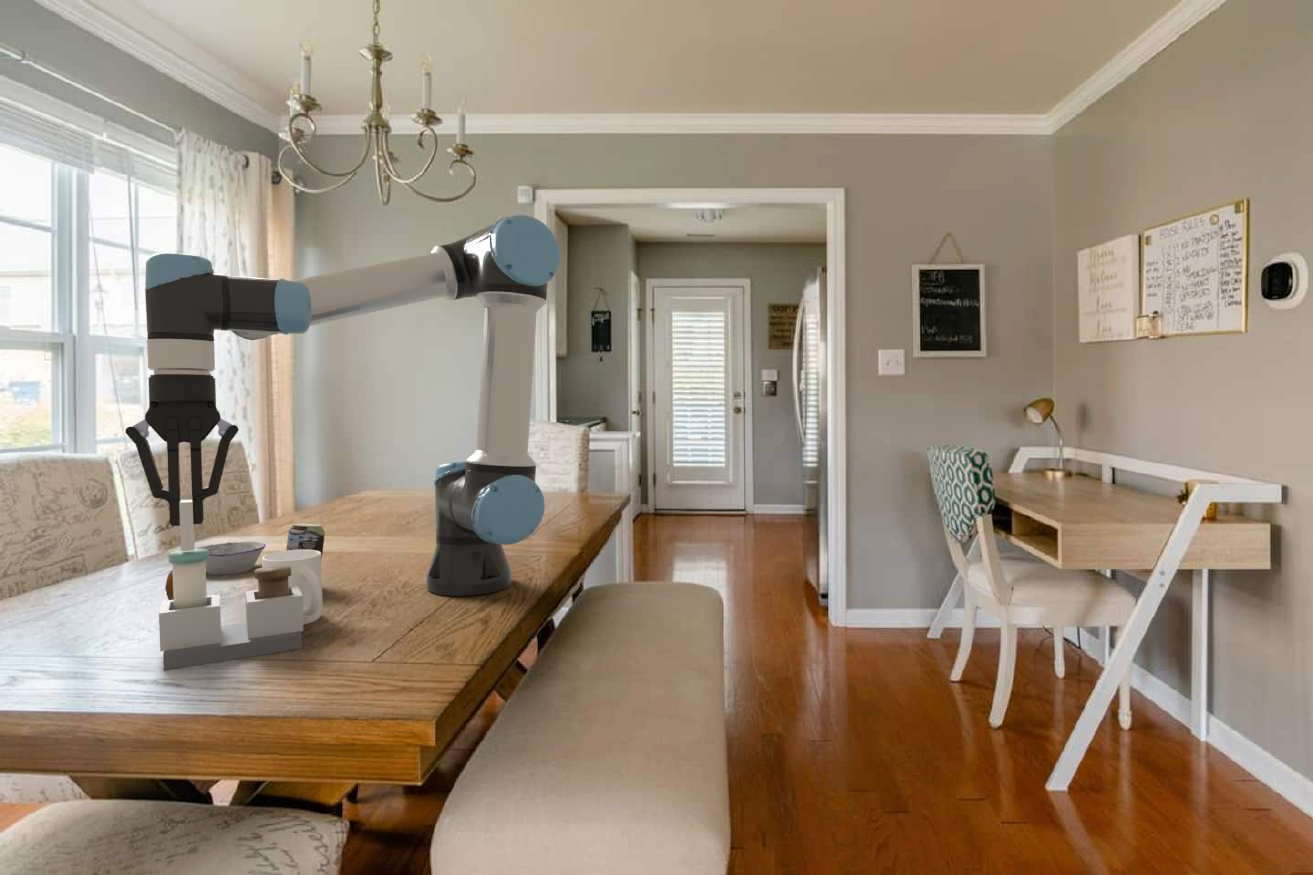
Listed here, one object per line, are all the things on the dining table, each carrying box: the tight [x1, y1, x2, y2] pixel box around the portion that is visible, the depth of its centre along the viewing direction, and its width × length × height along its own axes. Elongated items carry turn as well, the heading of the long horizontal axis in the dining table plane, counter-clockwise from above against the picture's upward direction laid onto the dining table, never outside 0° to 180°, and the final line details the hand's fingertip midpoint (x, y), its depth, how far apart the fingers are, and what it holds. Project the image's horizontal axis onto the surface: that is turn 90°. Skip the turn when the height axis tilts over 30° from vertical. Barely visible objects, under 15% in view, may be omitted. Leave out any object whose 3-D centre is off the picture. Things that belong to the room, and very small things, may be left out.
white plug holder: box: [158, 585, 304, 671], centre depth 103 cm, size 17×10×7 cm, turn 121°
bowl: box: [195, 541, 267, 576], centre depth 150 cm, size 13×13×5 cm
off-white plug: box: [167, 548, 209, 610], centre depth 100 cm, size 5×5×8 cm
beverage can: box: [285, 522, 326, 562], centre depth 135 cm, size 6×7×12 cm
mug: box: [261, 550, 323, 626], centre depth 115 cm, size 12×8×10 cm
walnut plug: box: [254, 565, 291, 599], centre depth 106 cm, size 5×5×8 cm
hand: (187, 548), depth 100 cm, fingers closed
